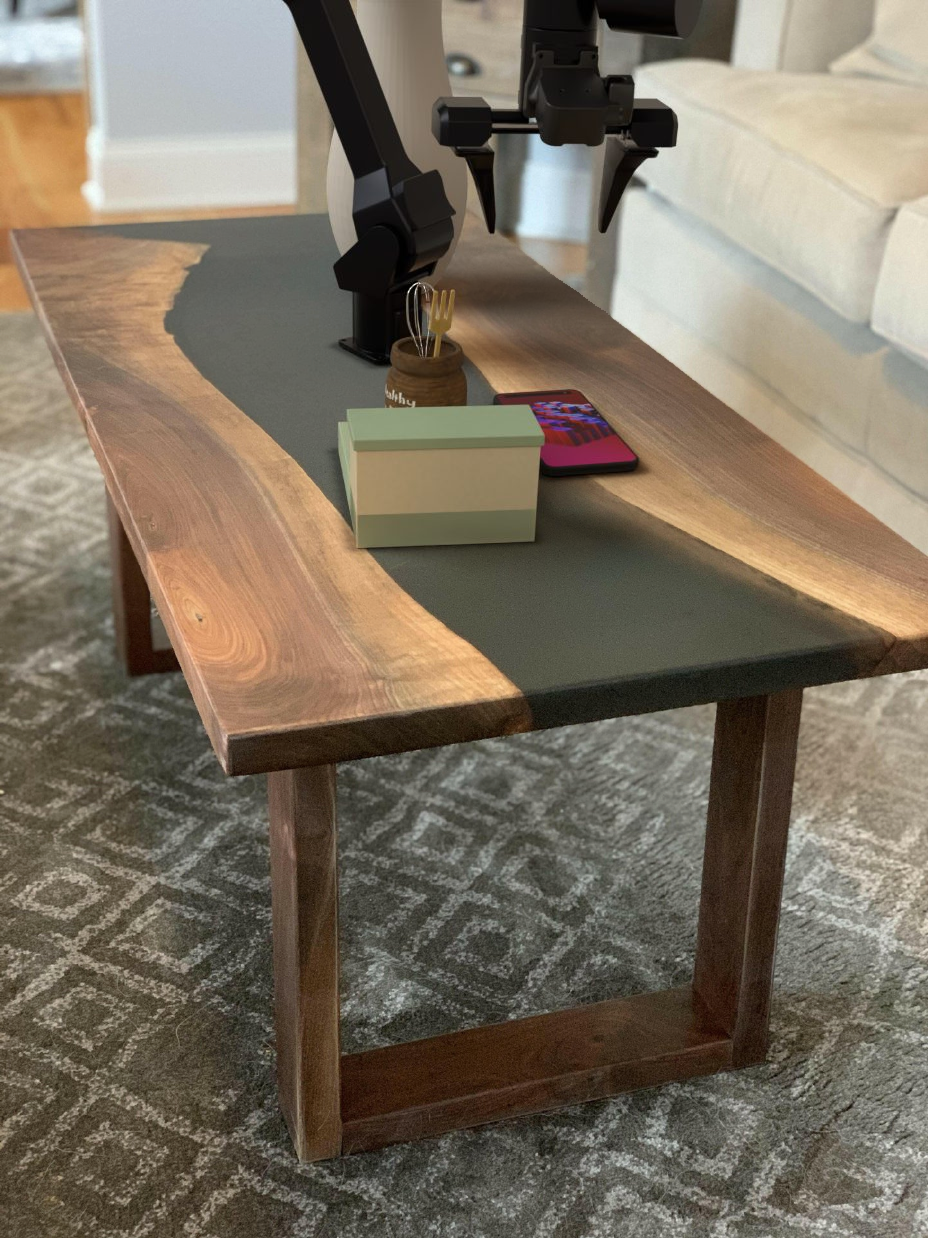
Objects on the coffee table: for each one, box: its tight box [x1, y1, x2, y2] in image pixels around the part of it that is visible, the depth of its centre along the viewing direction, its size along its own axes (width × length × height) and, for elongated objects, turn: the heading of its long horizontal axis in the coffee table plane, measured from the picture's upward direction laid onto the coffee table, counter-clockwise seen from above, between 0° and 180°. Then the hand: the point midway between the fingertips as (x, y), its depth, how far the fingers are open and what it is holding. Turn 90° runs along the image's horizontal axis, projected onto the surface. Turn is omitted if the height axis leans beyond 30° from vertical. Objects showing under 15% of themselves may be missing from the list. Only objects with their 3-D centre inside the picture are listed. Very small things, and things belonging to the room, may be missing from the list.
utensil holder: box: [384, 283, 468, 408], centre depth 100 cm, size 6×6×12 cm
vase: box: [326, 0, 469, 295], centre depth 135 cm, size 14×14×30 cm
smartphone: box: [492, 388, 640, 477], centre depth 111 cm, size 8×1×15 cm
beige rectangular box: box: [337, 405, 545, 549], centre depth 99 cm, size 16×12×8 cm
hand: (546, 232), depth 114 cm, fingers open, 9 cm apart
